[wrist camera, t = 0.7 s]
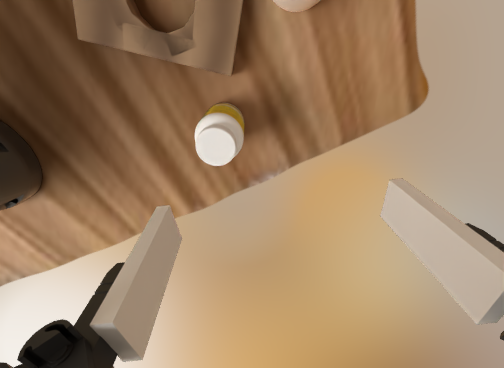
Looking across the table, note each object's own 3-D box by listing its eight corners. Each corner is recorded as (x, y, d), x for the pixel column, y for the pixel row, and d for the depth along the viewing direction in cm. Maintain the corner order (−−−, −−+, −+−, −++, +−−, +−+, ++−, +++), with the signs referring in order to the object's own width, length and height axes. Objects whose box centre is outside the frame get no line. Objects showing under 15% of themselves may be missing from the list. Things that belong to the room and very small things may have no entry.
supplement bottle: (207, 97, 28) (191, 113, 19) (248, 107, 29) (250, 127, 20) (202, 136, 30) (185, 166, 22) (239, 145, 31) (237, 177, 23)
